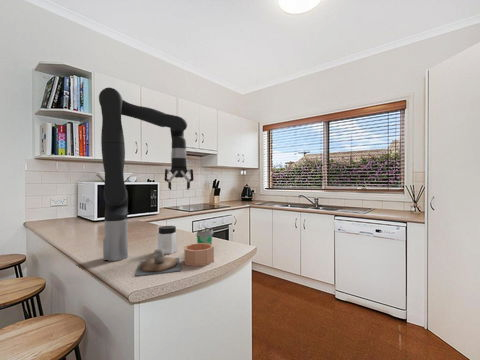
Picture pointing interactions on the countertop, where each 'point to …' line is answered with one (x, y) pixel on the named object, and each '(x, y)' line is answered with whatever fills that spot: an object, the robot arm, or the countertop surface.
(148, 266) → the lid
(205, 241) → the food container
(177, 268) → the mat
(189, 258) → the bowl
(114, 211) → the robot arm
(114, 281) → the countertop surface
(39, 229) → the countertop surface
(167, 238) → the jar
